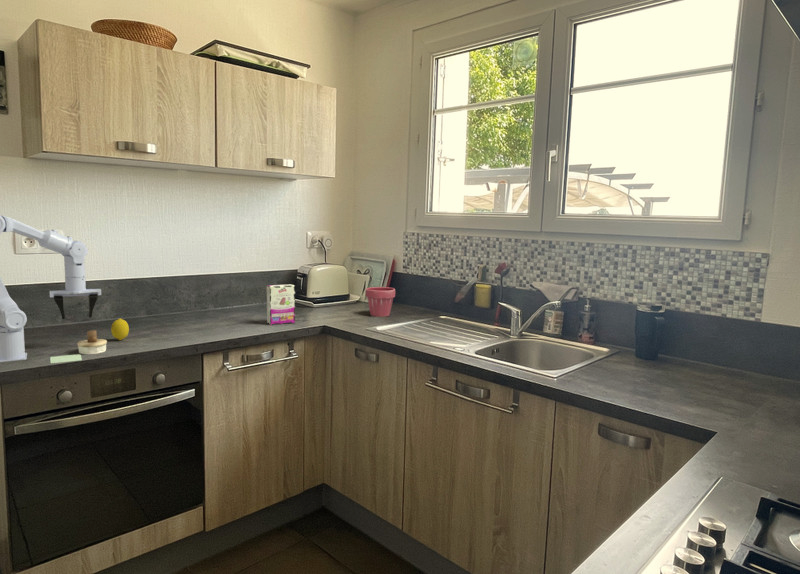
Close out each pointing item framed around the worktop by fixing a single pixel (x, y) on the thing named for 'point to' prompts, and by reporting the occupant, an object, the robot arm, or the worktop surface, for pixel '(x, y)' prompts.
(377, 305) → the plant pot
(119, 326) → the lemon
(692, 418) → the worktop surface
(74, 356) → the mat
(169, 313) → the worktop surface
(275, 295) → the candy bar box
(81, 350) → the bowl
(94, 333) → the lid
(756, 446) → the worktop surface
